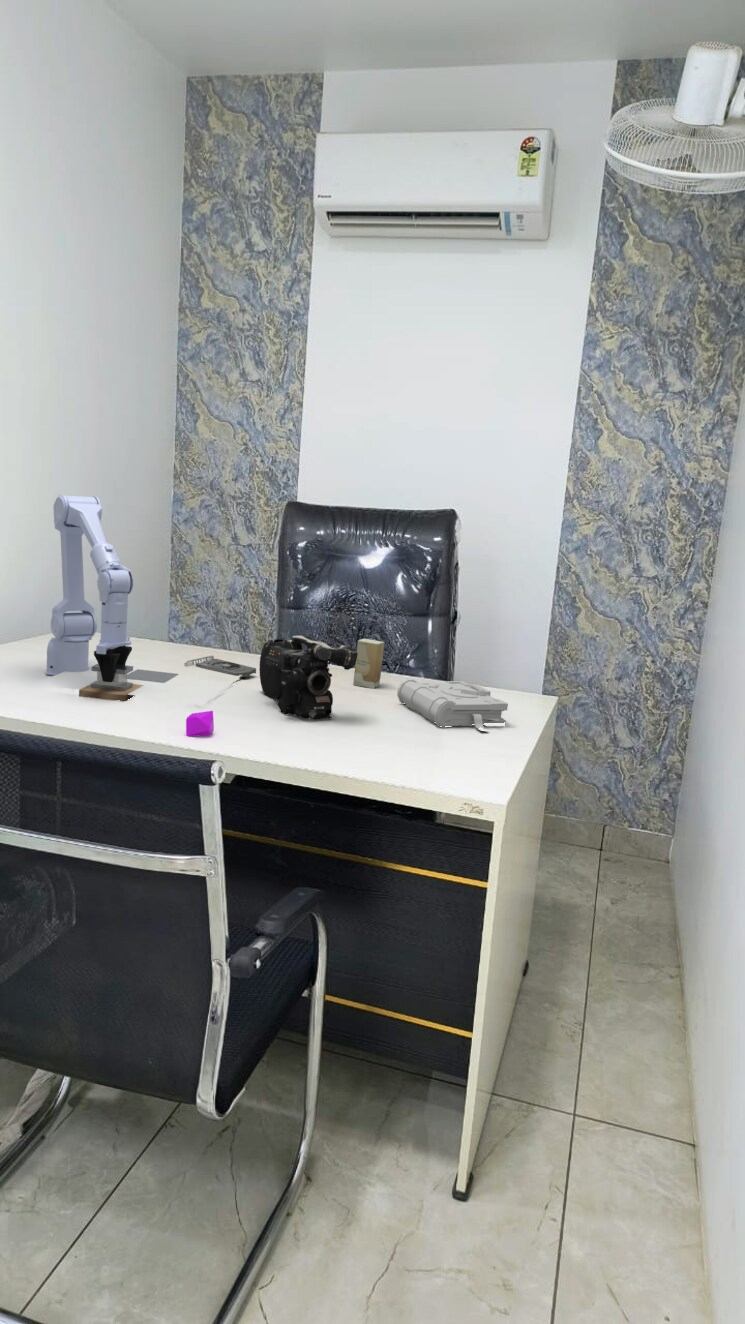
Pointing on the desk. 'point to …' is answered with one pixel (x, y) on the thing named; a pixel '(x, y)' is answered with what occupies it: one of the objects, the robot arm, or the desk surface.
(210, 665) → the graphics card
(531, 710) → the desk surface
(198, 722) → the crystal
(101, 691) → the stand
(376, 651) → the skincare box
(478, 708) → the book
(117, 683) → the block
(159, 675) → the stand
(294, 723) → the desk surface
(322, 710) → the movie camera
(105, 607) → the robot arm
